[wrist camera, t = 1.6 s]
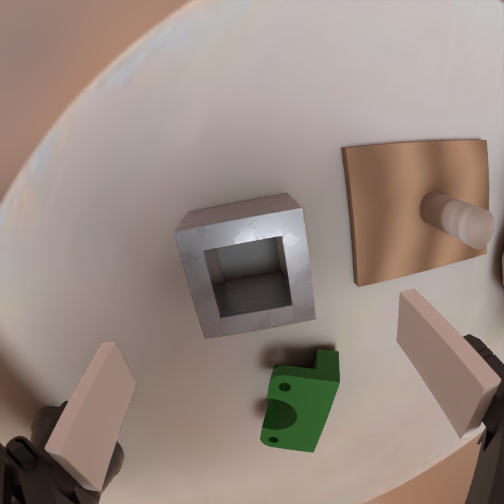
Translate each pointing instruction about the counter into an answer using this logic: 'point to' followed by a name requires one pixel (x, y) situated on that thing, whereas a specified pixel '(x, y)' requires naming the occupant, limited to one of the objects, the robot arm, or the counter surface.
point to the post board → (416, 206)
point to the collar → (251, 288)
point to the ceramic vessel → (503, 267)
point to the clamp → (300, 402)
